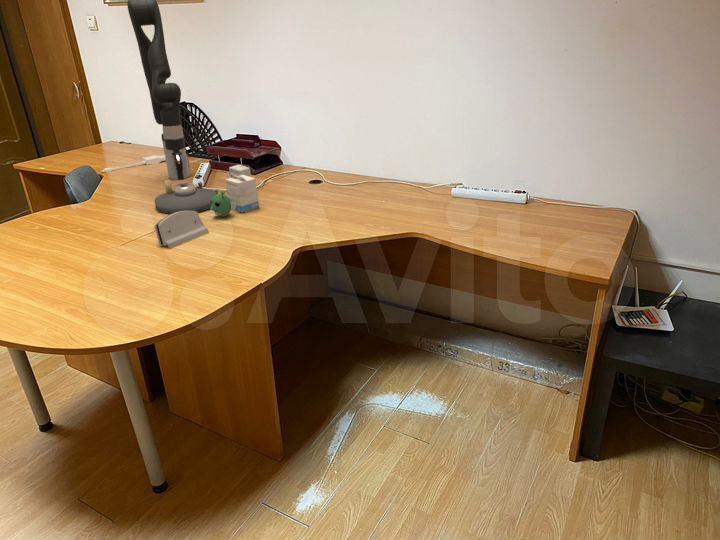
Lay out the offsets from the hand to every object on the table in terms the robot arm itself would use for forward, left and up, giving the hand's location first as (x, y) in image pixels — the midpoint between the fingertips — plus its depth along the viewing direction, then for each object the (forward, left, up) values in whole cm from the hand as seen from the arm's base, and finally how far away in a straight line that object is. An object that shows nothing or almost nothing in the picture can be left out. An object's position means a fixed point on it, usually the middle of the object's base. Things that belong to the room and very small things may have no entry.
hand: (181, 179), depth 208 cm
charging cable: (-28, -55, -7) cm, 62 cm away
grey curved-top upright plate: (+38, +33, -7) cm, 50 cm away
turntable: (+9, +11, -7) cm, 16 cm away
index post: (-4, +6, -7) cm, 10 cm away
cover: (+6, +7, -4) cm, 9 cm away
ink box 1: (-9, +24, -7) cm, 26 cm away
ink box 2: (+4, +34, -7) cm, 34 cm away
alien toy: (+15, +32, -7) cm, 36 cm away
